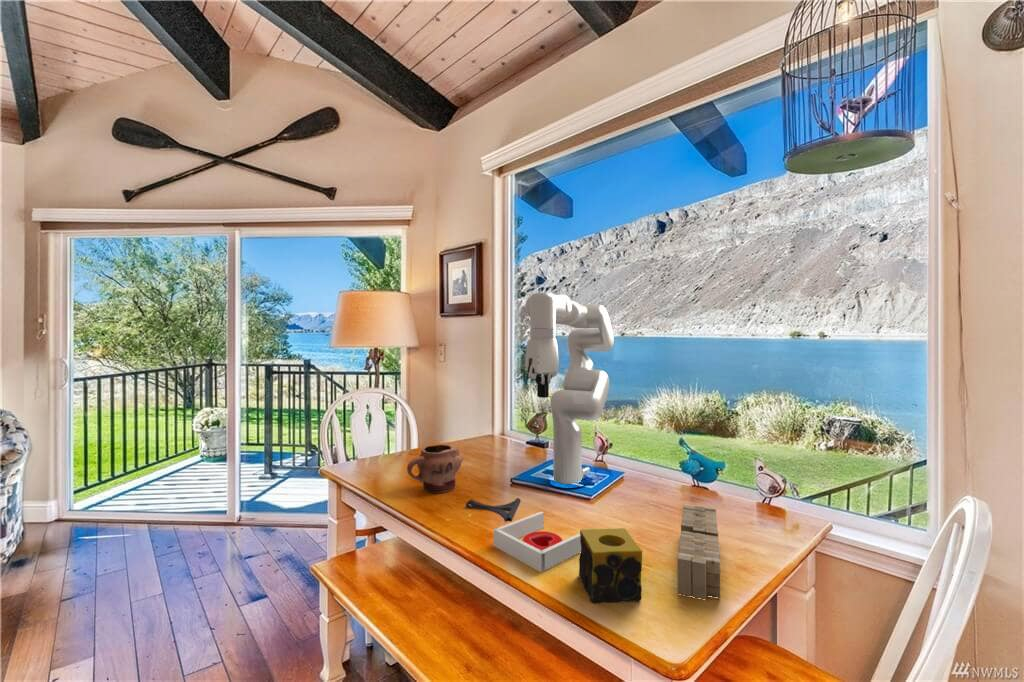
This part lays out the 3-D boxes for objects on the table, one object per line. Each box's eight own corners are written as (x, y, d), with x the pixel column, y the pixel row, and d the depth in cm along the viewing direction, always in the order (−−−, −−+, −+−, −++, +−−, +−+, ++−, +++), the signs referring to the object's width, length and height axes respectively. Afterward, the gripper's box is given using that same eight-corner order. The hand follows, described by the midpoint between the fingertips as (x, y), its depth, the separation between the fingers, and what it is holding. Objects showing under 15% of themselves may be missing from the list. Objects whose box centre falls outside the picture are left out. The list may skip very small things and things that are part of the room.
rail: (540, 526, 118) (540, 511, 118) (589, 548, 106) (589, 531, 106) (493, 546, 108) (493, 529, 107) (541, 572, 96) (541, 554, 95)
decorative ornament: (520, 544, 109) (520, 531, 109) (559, 543, 110) (559, 530, 110) (523, 564, 100) (523, 550, 99) (566, 563, 100) (566, 548, 100)
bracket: (473, 500, 139) (472, 491, 139) (520, 503, 136) (520, 494, 136) (459, 519, 124) (459, 509, 124) (511, 523, 122) (511, 513, 122)
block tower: (720, 610, 84) (717, 539, 111) (720, 566, 84) (717, 505, 111) (675, 600, 88) (683, 533, 114) (676, 558, 87) (683, 501, 114)
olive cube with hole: (578, 575, 94) (578, 528, 94) (625, 573, 95) (625, 526, 95) (590, 605, 84) (590, 552, 84) (642, 602, 85) (643, 550, 85)
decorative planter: (420, 503, 134) (420, 457, 134) (398, 493, 142) (398, 450, 142) (471, 487, 149) (471, 445, 148) (448, 478, 157) (448, 439, 157)
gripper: (551, 334, 140) (551, 393, 140) (515, 335, 130) (515, 398, 130) (569, 334, 134) (569, 396, 134) (533, 335, 124) (533, 401, 125)
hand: (542, 397), depth 132 cm, fingers closed
